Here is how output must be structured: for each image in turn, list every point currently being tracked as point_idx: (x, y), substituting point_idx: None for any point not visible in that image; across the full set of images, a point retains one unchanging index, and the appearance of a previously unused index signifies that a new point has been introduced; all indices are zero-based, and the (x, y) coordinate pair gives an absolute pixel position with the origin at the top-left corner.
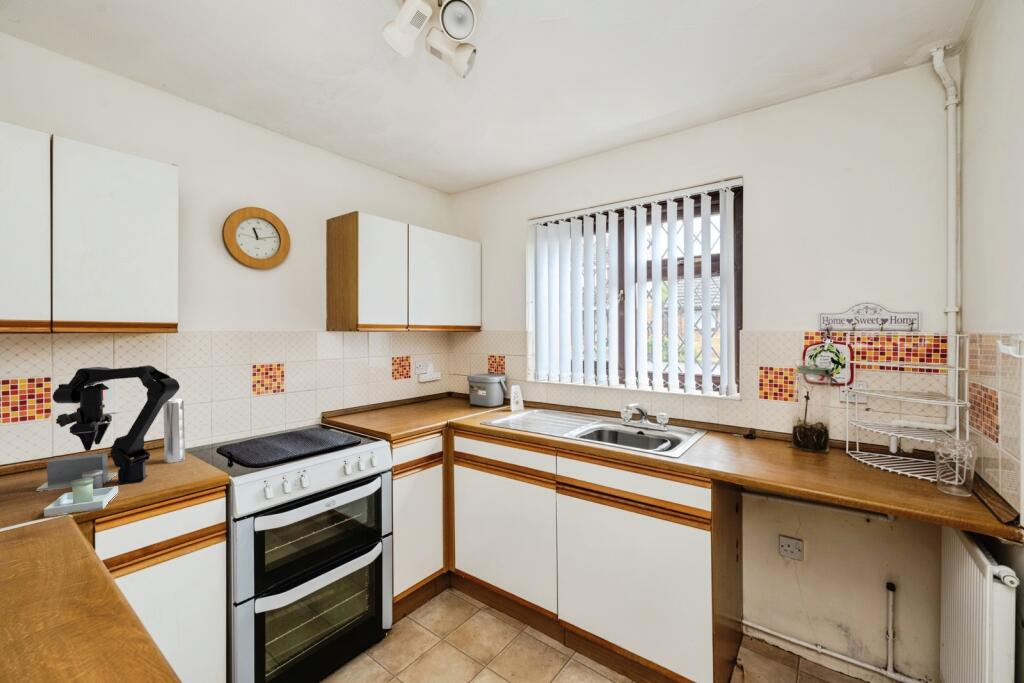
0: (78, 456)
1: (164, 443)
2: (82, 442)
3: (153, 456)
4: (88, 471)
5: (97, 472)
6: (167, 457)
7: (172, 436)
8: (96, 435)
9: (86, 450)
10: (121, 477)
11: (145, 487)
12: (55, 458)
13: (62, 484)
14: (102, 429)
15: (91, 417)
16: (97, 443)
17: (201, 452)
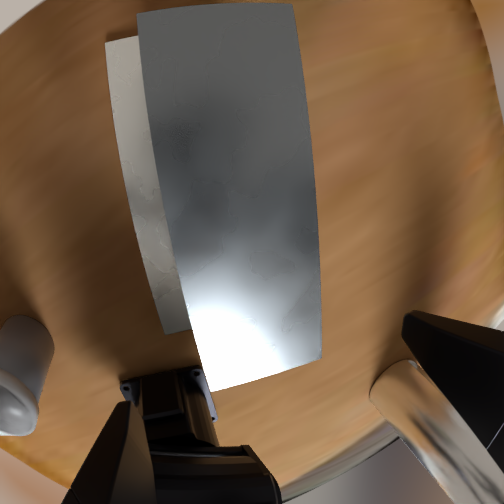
0: (287, 194)
1: (435, 410)
2: (73, 489)
3: (474, 281)
4: (7, 387)
5: (1, 426)
6: (387, 392)
7: (425, 461)
8: (470, 371)
9: (119, 409)
10: (139, 401)
11: (88, 453)
12: (282, 17)
13: (144, 134)
14: (500, 436)
15: None
16: (408, 330)
17: None
